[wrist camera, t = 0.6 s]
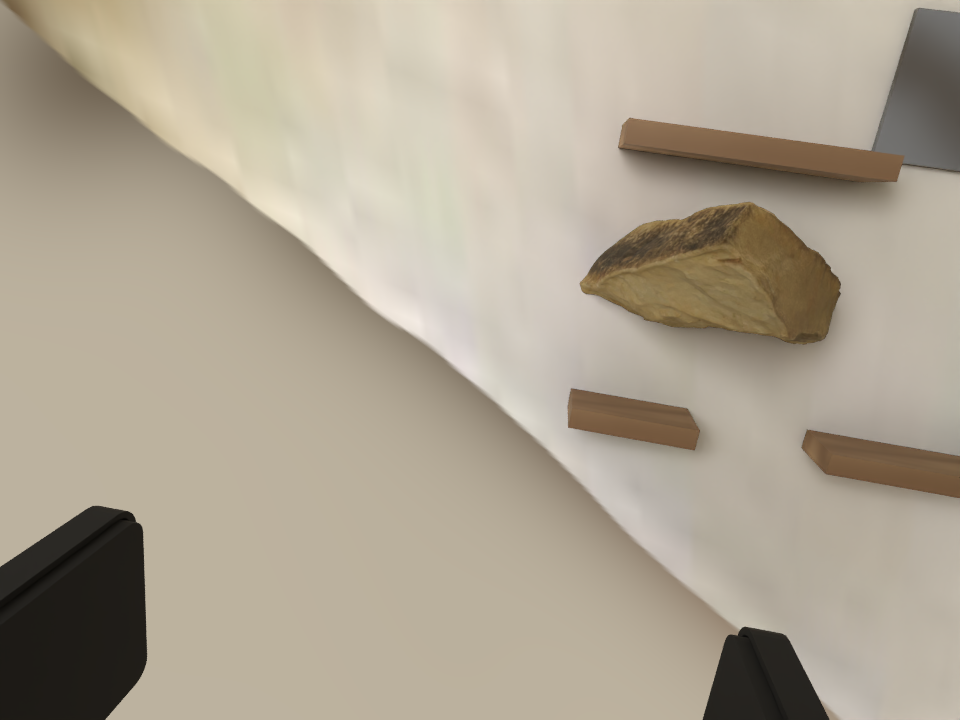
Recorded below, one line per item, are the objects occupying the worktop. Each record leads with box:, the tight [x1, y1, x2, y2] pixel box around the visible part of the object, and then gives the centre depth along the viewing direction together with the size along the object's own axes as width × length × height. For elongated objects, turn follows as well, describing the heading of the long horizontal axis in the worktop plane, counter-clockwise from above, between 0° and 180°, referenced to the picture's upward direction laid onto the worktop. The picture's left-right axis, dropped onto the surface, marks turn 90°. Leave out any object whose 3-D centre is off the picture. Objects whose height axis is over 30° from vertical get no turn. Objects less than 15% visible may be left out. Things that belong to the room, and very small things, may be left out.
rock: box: [580, 202, 841, 344], centre depth 27 cm, size 11×9×10 cm
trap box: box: [568, 8, 960, 498], centre depth 27 cm, size 20×21×4 cm
